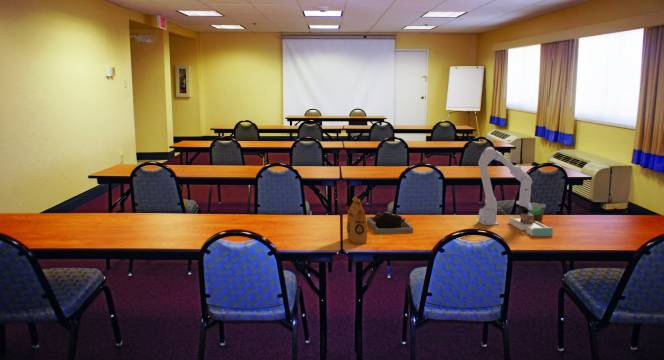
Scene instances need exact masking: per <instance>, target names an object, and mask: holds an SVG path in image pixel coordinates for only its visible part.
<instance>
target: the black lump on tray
mask: <svg viewBox="0 0 664 360" xmlns="http://www.w3.org/2000/svg"><path fill="white" fill-rule="evenodd" d="M373 217H374V218H373V222H374V224H375V225H376V226H377V227H378V229H385V228H403V224H402V222H404V221H406V218H403V216H402V215H399V214H393V212H391V211H388V210H386V211H384V212H383V213H382V212H377V213H376V214H375V215H374V216H373ZM402 218H403V219H402Z"/></svg>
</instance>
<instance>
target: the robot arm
mask: <svg viewBox="0 0 664 360" xmlns="http://www.w3.org/2000/svg"><path fill="white" fill-rule="evenodd" d="M479 157H480V158H479V160H478V167H479V172H480V177H481V181H482V186H483V187H482V188H483V192H484V195H485V196H484V197H485V198H484V204H485V205H484V206H483V207H481V208H480V209H479V211H478V221H477V222H478V223H480V224H482V225H483V226H489V225H491V226H492V225H496V226H497V225H499V224H500V223H499V222H497V214H498V213H497V212H498V201H497V198H496V197H495V195H494V191H493V187H492V186H493V185H492V182H491V178H490V173H489V168H488V165H489V164H490V163H491V161H493V160H494V161H499V162H500V163H502V164H503V165H504V166H505V167H506V168H507V169H508V170H509V173H510V174H511V175H512V177H514V178H515V179H516V180H518V181H519V182H520V187H519V198H518V200H516V202H515V204H516V205H519V206H517V209H518V211H519V215H520V218H521V213H528V212H529V210H532V206H531V203H532V202H531V193H532V191H531V190H532V184H533V179H532V178H531V176H530V175H529V174H528V173H527V172H526V171H524V170H523V169H522V167H521V166H520V165H514V164H513V163H512V162H511V161H510V160H509V159H508V158H507V157H506V156H504V155H503V154H502V153H501V152H499V150H495V148H494V147H493V146H488V147H486V148H485V149H483V151H482V153H481V155H480V156H479ZM530 202H531V203H530Z"/></svg>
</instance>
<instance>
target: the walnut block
mask: <svg viewBox="0 0 664 360" xmlns="http://www.w3.org/2000/svg"><path fill="white" fill-rule="evenodd" d="M520 218H521V219H520V222H521V223H523V224H533V223H534V220H533V219H534V215H532V214H530V213H521V217H520Z"/></svg>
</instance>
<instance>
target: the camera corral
mask: <svg viewBox="0 0 664 360" xmlns="http://www.w3.org/2000/svg"><path fill="white" fill-rule="evenodd" d="M374 217H375V216H366V221H367V224H368V225H370V226H371V228H372V229H373V231H374V230H375V231H374V232H375V233H376V234H377V235H380V234H381V235H382V233H385V234H405V233H406V234H409V233H410V234H411V233H414V227H413V226H412V225H410V223H409V222H408V221H406V220H405V221H404V222H402V226H404V227H402V228H385V229H378V227H377V226H376V225H375V222H374V221H373V218H374ZM402 219H404V218H403V217H402Z"/></svg>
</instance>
